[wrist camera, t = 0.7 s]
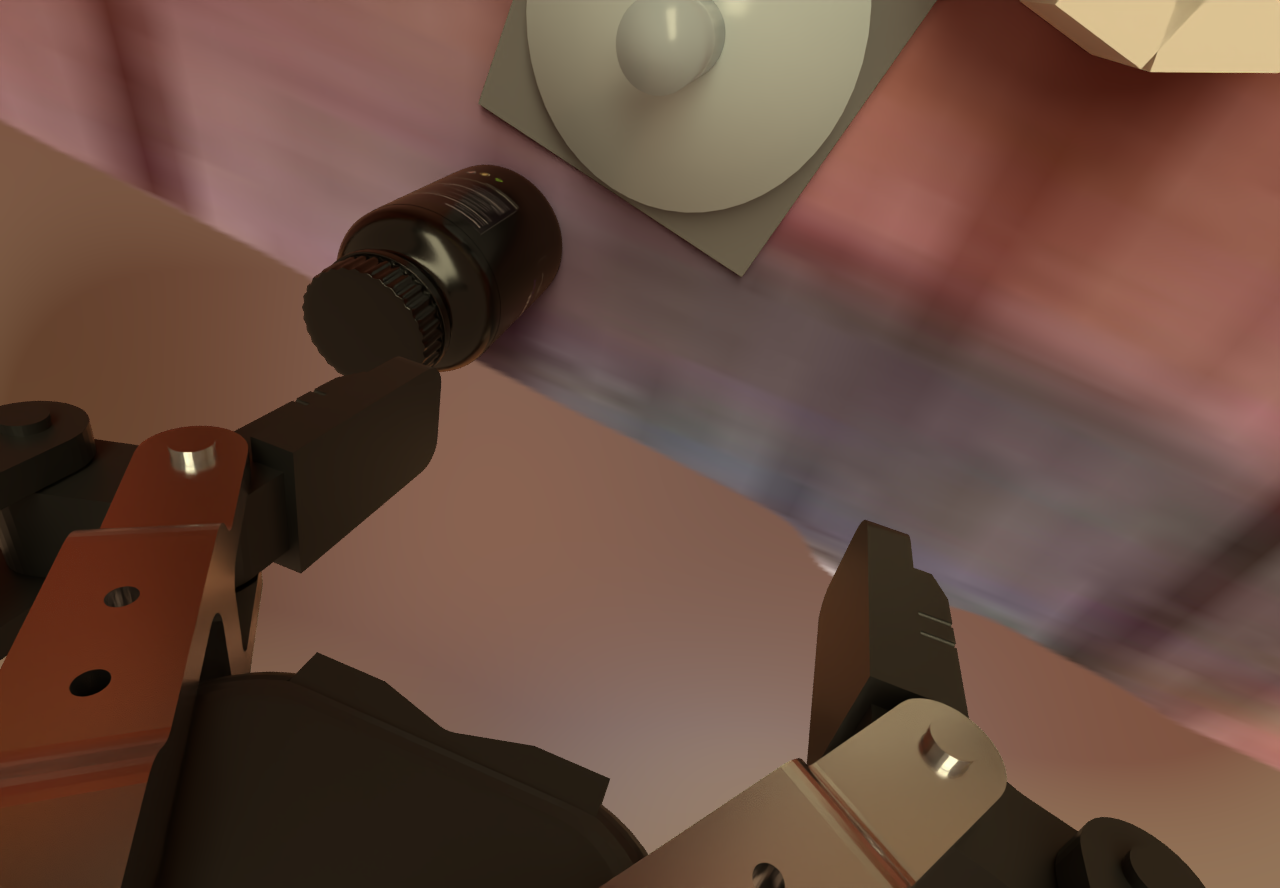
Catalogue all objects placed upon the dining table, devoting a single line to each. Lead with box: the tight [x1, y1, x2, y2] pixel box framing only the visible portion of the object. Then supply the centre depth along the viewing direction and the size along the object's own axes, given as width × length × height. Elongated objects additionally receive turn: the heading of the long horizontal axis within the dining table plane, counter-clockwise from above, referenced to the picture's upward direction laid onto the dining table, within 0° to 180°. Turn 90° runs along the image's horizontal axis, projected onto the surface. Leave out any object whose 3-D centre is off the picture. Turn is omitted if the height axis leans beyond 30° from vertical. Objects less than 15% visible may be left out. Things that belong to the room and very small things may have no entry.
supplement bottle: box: [302, 165, 562, 376], centre depth 28 cm, size 7×7×12 cm
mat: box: [478, 0, 937, 277], centre depth 26 cm, size 14×14×1 cm
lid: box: [526, 0, 871, 213], centre depth 23 cm, size 13×13×6 cm
